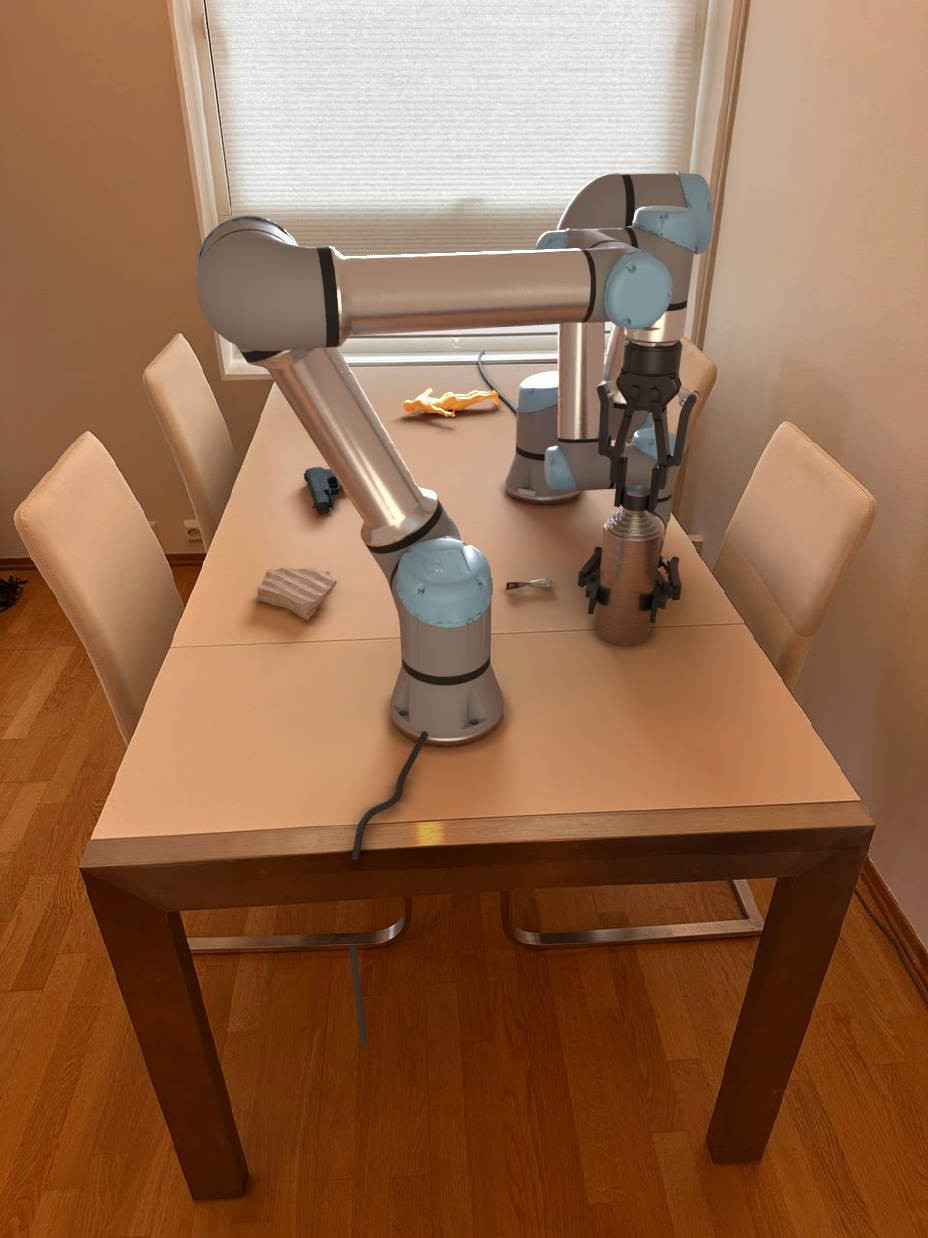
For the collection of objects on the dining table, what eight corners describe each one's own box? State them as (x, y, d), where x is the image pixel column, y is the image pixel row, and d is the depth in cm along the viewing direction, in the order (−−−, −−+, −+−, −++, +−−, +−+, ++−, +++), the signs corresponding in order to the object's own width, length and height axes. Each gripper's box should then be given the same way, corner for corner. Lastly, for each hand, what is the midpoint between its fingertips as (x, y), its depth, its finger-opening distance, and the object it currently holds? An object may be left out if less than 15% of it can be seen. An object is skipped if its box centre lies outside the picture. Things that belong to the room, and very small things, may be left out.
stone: (346, 586, 150) (345, 572, 148) (309, 621, 140) (307, 607, 139) (280, 572, 154) (279, 559, 153) (240, 606, 145) (238, 592, 143)
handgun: (374, 509, 176) (313, 517, 173) (359, 474, 190) (302, 481, 188) (373, 494, 174) (311, 502, 172) (358, 460, 188) (301, 466, 186)
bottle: (592, 642, 135) (604, 502, 123) (598, 614, 142) (610, 479, 130) (647, 649, 134) (665, 508, 121) (651, 620, 141) (668, 484, 128)
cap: (619, 509, 125) (621, 495, 124) (622, 497, 129) (623, 483, 128) (649, 512, 125) (651, 497, 123) (651, 500, 128) (652, 486, 127)
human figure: (395, 413, 223) (394, 398, 221) (438, 390, 237) (438, 375, 235) (462, 429, 215) (462, 413, 213) (502, 404, 229) (503, 388, 227)
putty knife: (553, 587, 149) (553, 578, 148) (506, 592, 148) (507, 584, 147) (551, 584, 150) (551, 575, 149) (505, 589, 149) (505, 581, 148)
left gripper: (580, 339, 114) (569, 506, 127) (716, 353, 109) (691, 526, 121) (596, 325, 120) (584, 486, 133) (725, 338, 114) (701, 505, 127)
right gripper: (702, 570, 149) (692, 643, 130) (576, 554, 154) (549, 621, 135) (708, 530, 145) (699, 598, 126) (579, 514, 150) (552, 578, 131)
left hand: (635, 505), depth 127 cm, fingers closed on cap, 4 cm apart
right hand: (621, 610), depth 131 cm, fingers closed on bottle, 8 cm apart
